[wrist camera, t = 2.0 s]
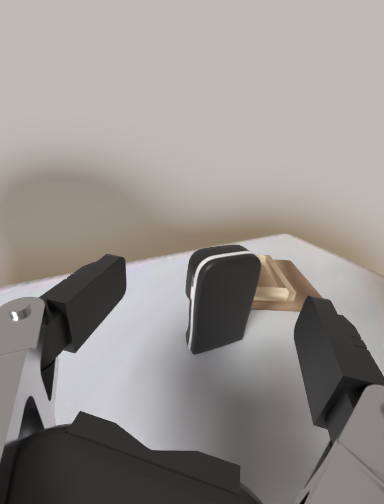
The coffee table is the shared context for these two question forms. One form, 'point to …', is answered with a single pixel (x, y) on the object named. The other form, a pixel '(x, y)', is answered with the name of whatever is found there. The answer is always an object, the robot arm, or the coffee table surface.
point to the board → (281, 286)
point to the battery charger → (220, 295)
